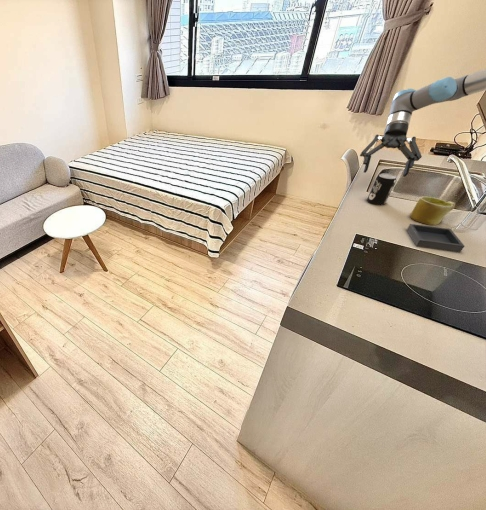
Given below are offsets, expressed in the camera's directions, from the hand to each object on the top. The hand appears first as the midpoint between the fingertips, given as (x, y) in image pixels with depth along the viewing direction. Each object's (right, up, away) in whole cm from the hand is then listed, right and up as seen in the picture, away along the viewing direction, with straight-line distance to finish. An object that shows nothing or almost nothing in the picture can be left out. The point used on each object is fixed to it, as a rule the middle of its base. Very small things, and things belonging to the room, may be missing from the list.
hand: (384, 173), depth 116 cm
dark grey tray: (-3, -30, -22) cm, 37 cm away
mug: (+7, -21, -11) cm, 25 cm away
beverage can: (-2, -12, +3) cm, 13 cm away
